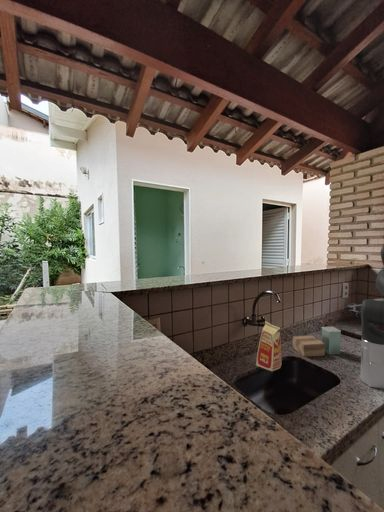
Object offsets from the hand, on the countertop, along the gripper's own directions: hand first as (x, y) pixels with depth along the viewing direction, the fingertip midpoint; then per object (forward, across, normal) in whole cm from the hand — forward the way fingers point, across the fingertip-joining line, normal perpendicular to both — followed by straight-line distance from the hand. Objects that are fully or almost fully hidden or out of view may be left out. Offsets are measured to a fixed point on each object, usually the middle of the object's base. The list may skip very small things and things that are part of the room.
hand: (349, 312), depth 123 cm
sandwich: (+24, -2, +17) cm, 30 cm away
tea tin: (+13, 0, +19) cm, 23 cm away
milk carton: (+51, +7, +13) cm, 53 cm away
